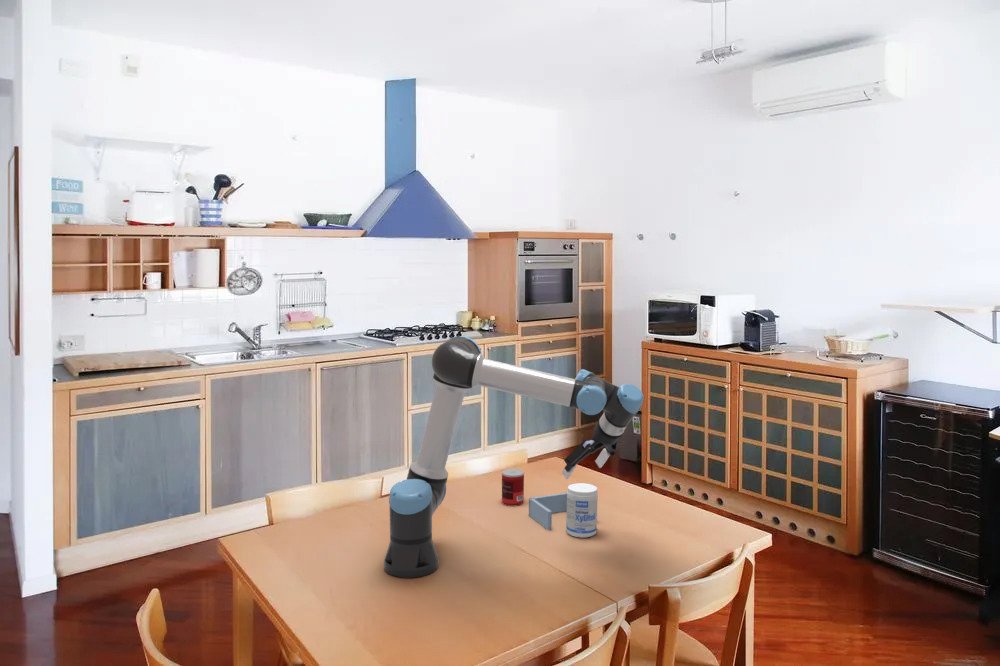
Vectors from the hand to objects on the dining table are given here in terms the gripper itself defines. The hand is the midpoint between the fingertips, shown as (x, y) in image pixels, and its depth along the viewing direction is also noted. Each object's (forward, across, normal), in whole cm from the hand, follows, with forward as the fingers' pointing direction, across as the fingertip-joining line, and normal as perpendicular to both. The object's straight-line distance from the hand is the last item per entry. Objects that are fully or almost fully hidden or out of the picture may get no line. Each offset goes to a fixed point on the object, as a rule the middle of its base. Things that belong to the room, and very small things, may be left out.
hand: (581, 469), depth 229 cm
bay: (+26, +3, -2) cm, 27 cm away
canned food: (+40, 0, +15) cm, 43 cm away
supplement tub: (+18, +1, -12) cm, 22 cm away
